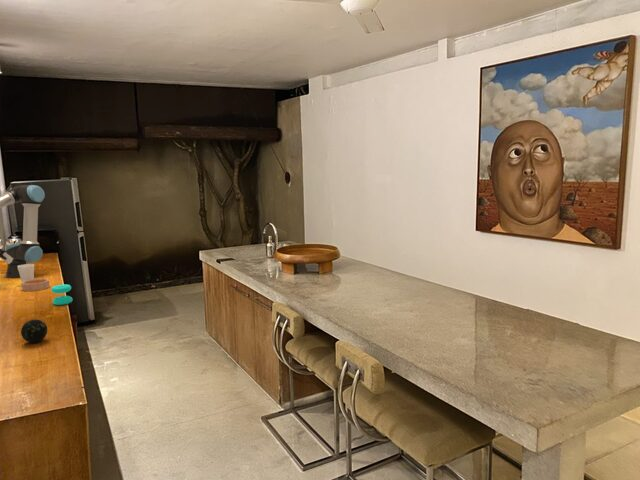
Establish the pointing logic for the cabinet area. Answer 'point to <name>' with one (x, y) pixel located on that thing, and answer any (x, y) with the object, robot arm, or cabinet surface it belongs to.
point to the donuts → (62, 299)
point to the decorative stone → (34, 331)
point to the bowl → (35, 284)
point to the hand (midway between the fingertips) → (11, 261)
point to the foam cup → (26, 272)
